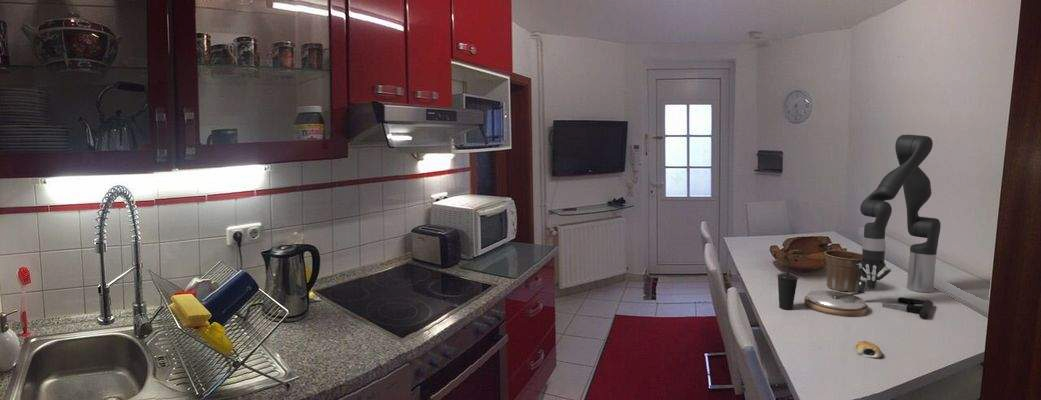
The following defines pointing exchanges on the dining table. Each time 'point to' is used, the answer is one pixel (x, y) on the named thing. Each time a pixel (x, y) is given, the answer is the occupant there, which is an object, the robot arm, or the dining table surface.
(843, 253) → the plant pot
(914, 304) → the door handle
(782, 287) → the drinking cup
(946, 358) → the dining table surface
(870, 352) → the pastry
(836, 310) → the dial base
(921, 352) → the dining table surface
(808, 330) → the dining table surface
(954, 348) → the dining table surface
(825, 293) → the dial
